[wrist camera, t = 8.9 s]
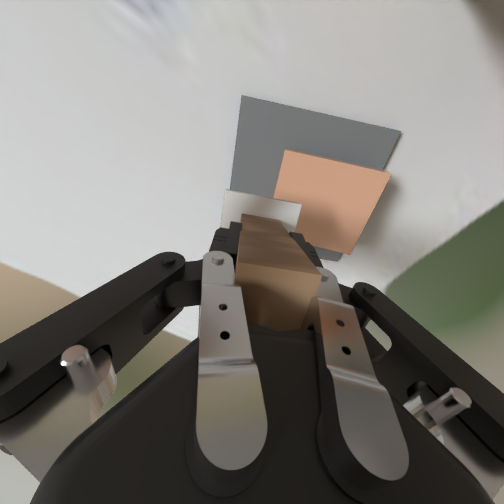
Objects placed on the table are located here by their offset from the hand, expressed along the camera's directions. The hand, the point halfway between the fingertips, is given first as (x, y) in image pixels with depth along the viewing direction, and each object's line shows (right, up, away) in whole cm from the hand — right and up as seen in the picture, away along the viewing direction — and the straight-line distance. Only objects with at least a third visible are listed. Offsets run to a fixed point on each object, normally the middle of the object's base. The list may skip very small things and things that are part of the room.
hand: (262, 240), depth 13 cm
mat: (+5, +6, +12) cm, 14 cm away
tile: (+7, +4, +10) cm, 13 cm away
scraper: (0, +1, +5) cm, 5 cm away
